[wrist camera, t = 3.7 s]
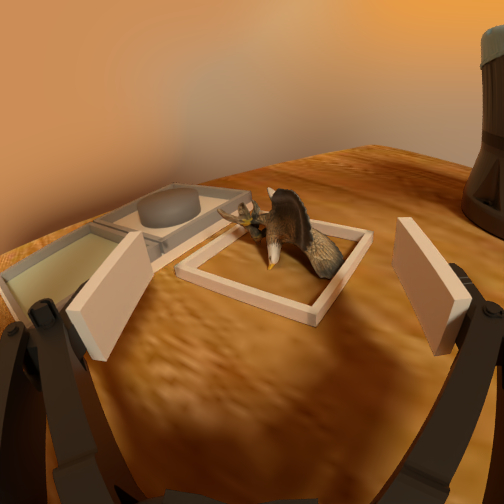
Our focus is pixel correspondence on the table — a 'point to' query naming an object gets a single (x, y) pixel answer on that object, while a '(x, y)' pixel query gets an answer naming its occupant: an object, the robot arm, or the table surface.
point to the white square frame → (268, 300)
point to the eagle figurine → (289, 231)
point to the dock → (111, 234)
